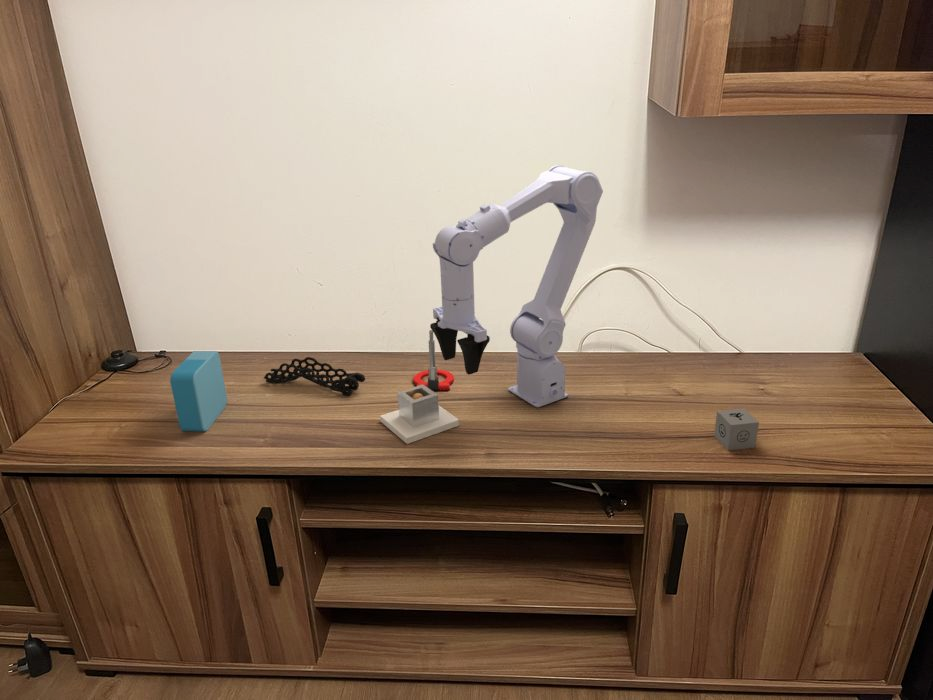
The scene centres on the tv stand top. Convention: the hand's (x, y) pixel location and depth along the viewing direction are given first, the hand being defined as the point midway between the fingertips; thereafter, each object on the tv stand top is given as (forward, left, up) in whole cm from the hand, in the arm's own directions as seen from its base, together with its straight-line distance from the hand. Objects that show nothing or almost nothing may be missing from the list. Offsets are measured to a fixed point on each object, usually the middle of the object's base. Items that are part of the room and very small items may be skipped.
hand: (460, 365), depth 132 cm
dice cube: (-36, -33, -11) cm, 50 cm away
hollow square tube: (+2, +8, -9) cm, 12 cm away
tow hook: (+15, -3, -11) cm, 19 cm away
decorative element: (+28, +18, -11) cm, 35 cm away
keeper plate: (+2, +8, -10) cm, 13 cm away
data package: (+28, +40, -11) cm, 50 cm away
